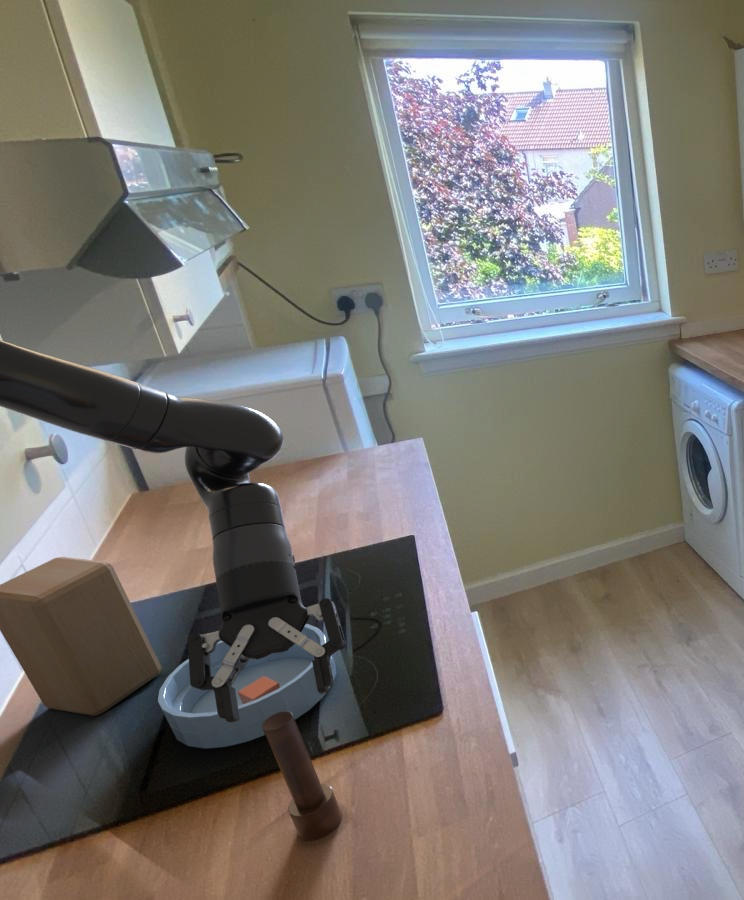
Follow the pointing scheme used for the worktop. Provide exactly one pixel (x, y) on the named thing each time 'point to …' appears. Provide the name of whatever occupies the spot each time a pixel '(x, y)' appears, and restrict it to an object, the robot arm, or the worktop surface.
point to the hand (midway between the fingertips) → (279, 706)
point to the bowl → (198, 711)
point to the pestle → (301, 779)
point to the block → (258, 689)
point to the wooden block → (76, 635)
